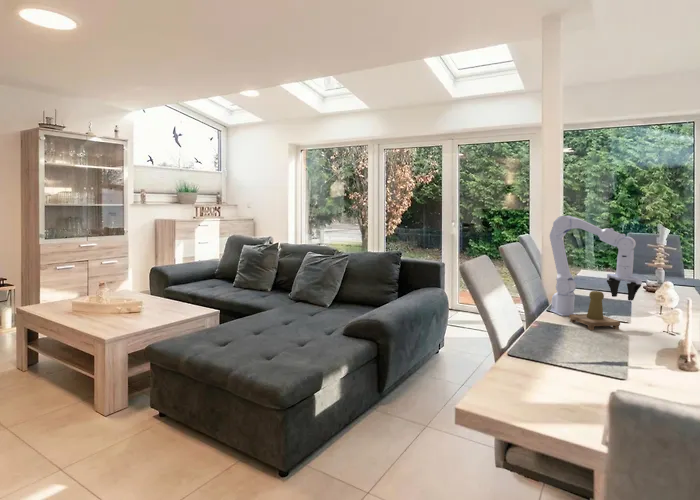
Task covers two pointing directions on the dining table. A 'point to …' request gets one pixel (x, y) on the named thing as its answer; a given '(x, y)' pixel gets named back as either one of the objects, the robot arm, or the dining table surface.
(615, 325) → the tan square board
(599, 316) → the olive bulb-shaped piece
